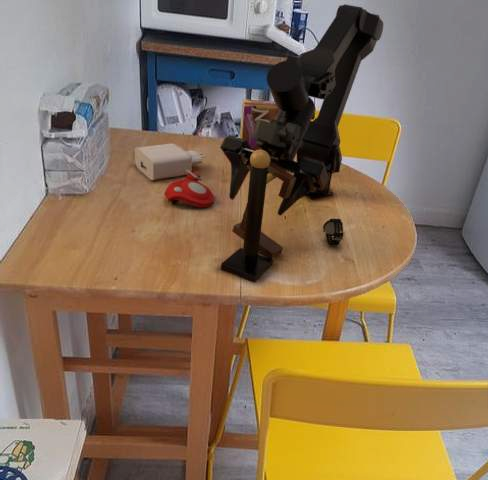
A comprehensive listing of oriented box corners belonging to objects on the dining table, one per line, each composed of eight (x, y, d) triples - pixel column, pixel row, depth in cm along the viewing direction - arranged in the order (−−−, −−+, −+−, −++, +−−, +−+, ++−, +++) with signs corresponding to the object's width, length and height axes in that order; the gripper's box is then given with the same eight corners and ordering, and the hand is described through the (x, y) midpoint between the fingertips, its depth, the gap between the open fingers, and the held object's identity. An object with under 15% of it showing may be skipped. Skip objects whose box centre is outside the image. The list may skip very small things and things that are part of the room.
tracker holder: (224, 201, 100) (179, 197, 94) (216, 218, 103) (172, 215, 97) (200, 165, 107) (157, 159, 101) (193, 182, 109) (151, 177, 103)
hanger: (243, 226, 90) (265, 154, 81) (281, 253, 87) (308, 182, 78) (232, 231, 88) (253, 158, 79) (270, 260, 85) (297, 187, 76)
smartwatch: (343, 240, 95) (348, 216, 92) (339, 253, 91) (344, 229, 88) (321, 235, 96) (326, 212, 93) (317, 248, 91) (322, 224, 89)
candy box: (273, 163, 123) (280, 100, 115) (276, 170, 120) (284, 106, 111) (237, 162, 121) (242, 98, 113) (239, 169, 118) (244, 103, 109)
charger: (214, 172, 115) (153, 182, 107) (194, 158, 121) (135, 166, 112) (215, 152, 112) (152, 161, 104) (194, 138, 118) (134, 145, 110)
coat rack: (250, 243, 90) (261, 134, 79) (282, 255, 88) (298, 144, 77) (220, 269, 82) (228, 152, 71) (254, 283, 80) (268, 163, 69)
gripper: (229, 86, 82) (189, 170, 80) (334, 113, 76) (295, 204, 74) (248, 123, 93) (213, 198, 90) (342, 149, 87) (308, 229, 84)
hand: (254, 206), depth 84 cm, fingers open, 9 cm apart
